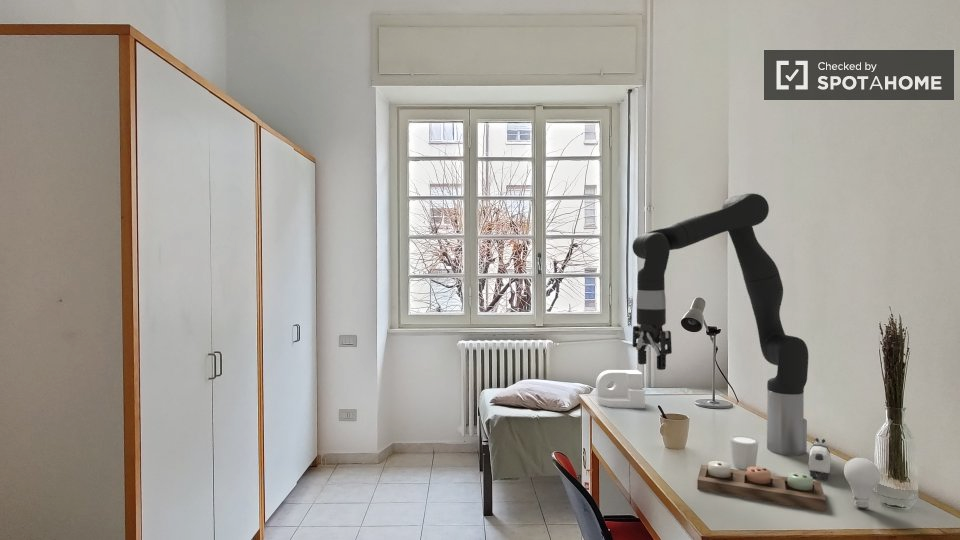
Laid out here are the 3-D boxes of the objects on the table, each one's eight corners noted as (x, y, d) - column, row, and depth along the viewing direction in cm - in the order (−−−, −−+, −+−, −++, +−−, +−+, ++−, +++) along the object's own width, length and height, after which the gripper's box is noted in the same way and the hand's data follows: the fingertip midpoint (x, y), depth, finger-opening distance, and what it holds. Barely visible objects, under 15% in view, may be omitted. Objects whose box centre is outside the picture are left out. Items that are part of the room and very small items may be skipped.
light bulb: (836, 502, 127) (836, 453, 126) (864, 501, 127) (864, 452, 127) (858, 515, 120) (859, 464, 120) (887, 514, 120) (888, 463, 120)
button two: (811, 483, 130) (811, 473, 130) (813, 491, 126) (813, 481, 126) (787, 480, 132) (787, 470, 132) (788, 487, 128) (788, 477, 128)
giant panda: (830, 482, 138) (830, 449, 138) (808, 478, 141) (808, 446, 140) (830, 467, 148) (831, 436, 148) (810, 463, 151) (810, 433, 151)
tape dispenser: (637, 402, 217) (637, 370, 217) (644, 409, 206) (644, 375, 206) (595, 402, 217) (595, 370, 217) (600, 409, 207) (600, 375, 207)
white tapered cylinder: (746, 472, 145) (746, 445, 145) (724, 464, 151) (724, 438, 151) (764, 468, 148) (764, 441, 148) (741, 459, 154) (741, 434, 154)
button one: (731, 471, 138) (731, 462, 138) (730, 478, 133) (730, 468, 133) (709, 468, 140) (709, 458, 140) (707, 475, 135) (707, 465, 135)
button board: (820, 492, 132) (820, 482, 132) (825, 511, 122) (825, 499, 122) (701, 474, 143) (701, 464, 143) (697, 490, 134) (697, 479, 133)
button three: (770, 477, 134) (770, 467, 134) (770, 485, 129) (770, 474, 129) (746, 474, 136) (747, 464, 136) (746, 481, 132) (746, 471, 132)
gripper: (679, 308, 147) (680, 370, 147) (647, 304, 160) (647, 361, 161) (655, 309, 144) (655, 372, 145) (624, 305, 158) (624, 363, 158)
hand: (651, 366), depth 153 cm, fingers open, 8 cm apart
